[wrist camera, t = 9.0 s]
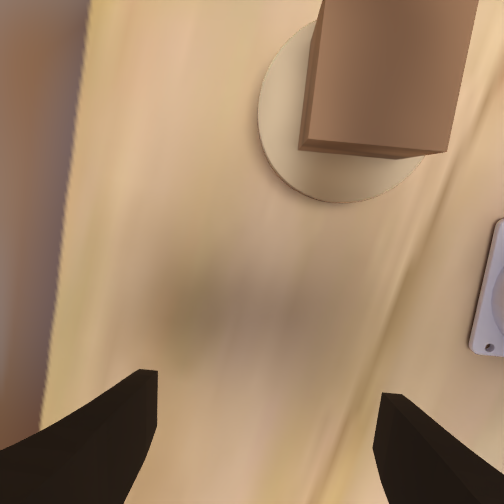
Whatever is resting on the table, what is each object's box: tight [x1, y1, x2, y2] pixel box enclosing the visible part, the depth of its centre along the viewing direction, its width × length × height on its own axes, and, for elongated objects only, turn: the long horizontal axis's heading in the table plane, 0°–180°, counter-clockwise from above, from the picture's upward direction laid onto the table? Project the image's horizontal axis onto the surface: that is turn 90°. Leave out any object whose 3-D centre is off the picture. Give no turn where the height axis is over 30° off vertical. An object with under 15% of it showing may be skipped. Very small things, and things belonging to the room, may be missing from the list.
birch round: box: [258, 20, 425, 203], centre depth 17 cm, size 8×8×4 cm
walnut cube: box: [298, 0, 479, 160], centre depth 13 cm, size 4×4×4 cm
